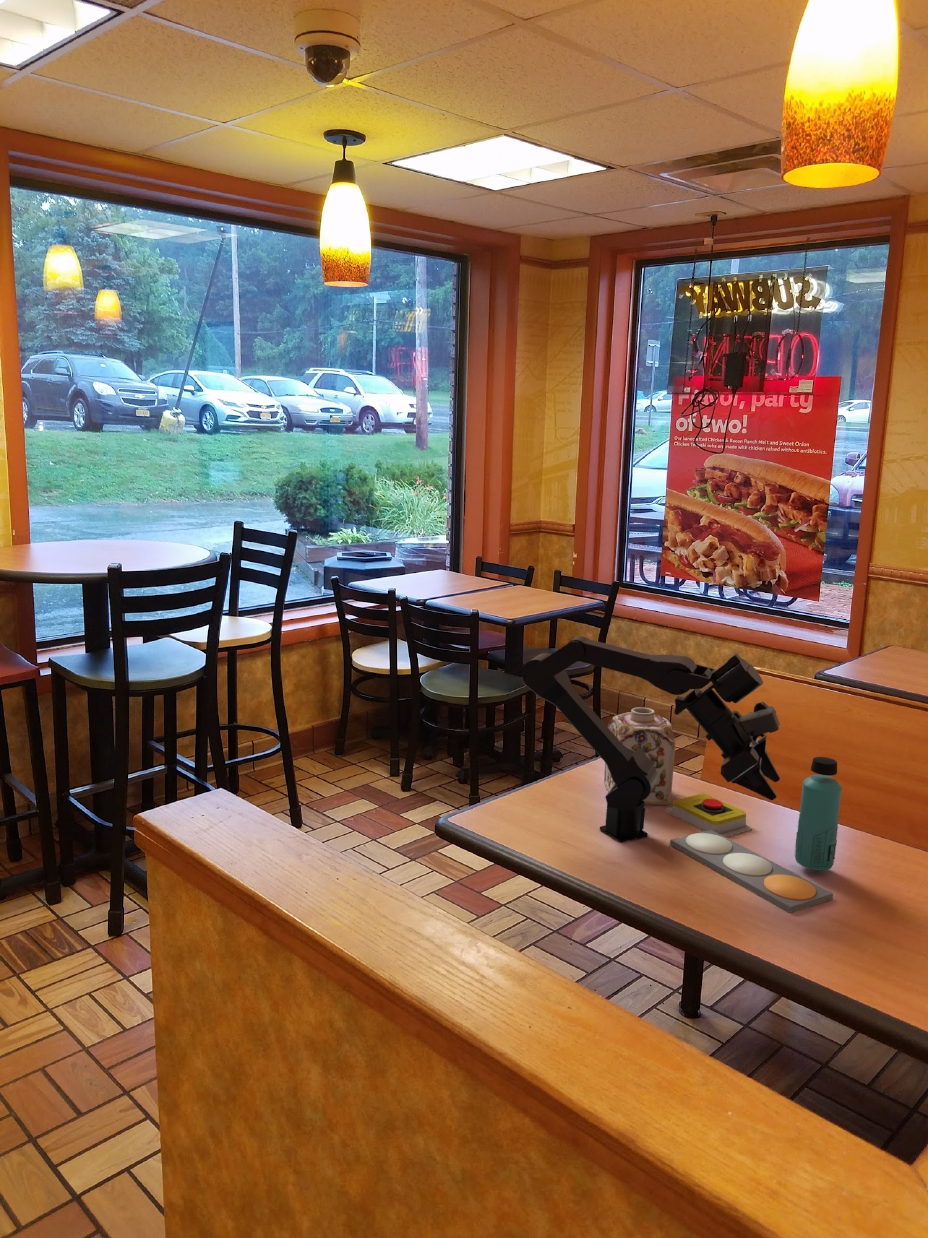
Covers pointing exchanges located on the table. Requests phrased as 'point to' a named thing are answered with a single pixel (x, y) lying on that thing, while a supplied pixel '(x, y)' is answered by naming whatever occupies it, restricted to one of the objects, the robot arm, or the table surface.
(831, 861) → the beverage bottle
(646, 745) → the decorative jar
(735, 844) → the panel
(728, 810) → the emergency button
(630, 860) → the table surface
